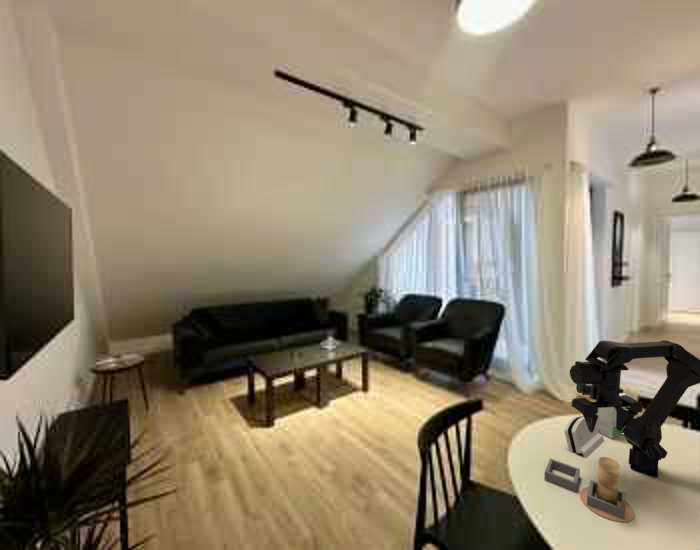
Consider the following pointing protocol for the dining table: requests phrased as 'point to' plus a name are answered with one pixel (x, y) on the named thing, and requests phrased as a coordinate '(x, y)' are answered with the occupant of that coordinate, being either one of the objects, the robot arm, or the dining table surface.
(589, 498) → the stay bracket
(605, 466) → the rod
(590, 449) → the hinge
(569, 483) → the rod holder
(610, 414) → the skincare box
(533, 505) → the dining table surface
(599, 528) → the dining table surface
